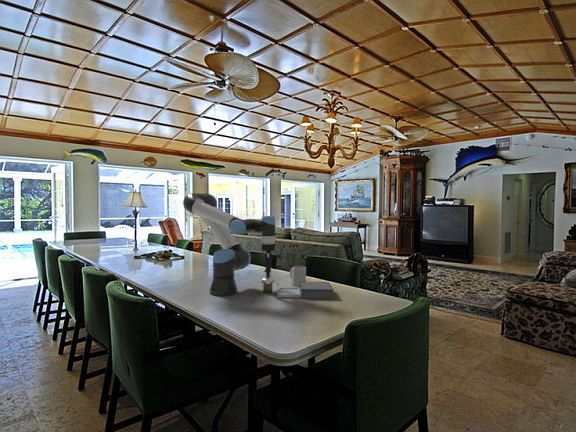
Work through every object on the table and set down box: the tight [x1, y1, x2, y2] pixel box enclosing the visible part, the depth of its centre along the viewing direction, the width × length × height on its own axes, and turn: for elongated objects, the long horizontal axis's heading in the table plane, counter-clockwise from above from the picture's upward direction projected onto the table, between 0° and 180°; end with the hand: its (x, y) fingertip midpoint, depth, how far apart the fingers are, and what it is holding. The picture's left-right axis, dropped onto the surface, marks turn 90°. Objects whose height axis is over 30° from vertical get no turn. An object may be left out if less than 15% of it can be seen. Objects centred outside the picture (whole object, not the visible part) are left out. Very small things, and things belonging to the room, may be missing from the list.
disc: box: [260, 276, 276, 284], centre depth 192 cm, size 8×8×2 cm
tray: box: [276, 282, 301, 299], centre depth 189 cm, size 17×16×4 cm
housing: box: [299, 281, 334, 300], centre depth 189 cm, size 17×18×5 cm
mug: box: [289, 265, 307, 287], centre depth 212 cm, size 12×8×11 cm
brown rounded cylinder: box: [262, 282, 273, 294], centre depth 193 cm, size 5×5×6 cm
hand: (268, 281), depth 192 cm, fingers open, 13 cm apart
